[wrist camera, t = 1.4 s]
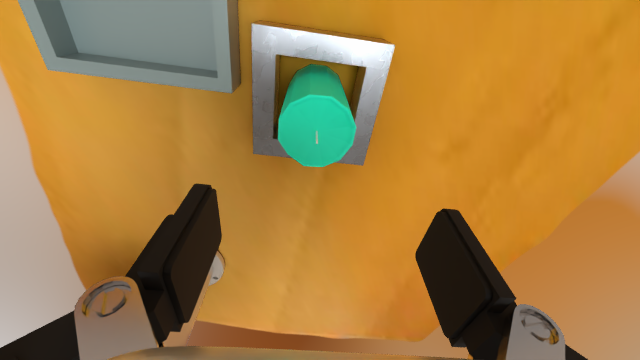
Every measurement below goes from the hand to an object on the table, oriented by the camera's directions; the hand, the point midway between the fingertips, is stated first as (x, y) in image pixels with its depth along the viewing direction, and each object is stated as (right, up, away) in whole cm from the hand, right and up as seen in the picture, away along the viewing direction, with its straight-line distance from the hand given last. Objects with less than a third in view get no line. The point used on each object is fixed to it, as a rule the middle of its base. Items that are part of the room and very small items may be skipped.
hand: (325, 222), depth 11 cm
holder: (-1, +11, +17) cm, 20 cm away
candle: (-1, +11, +17) cm, 21 cm away
